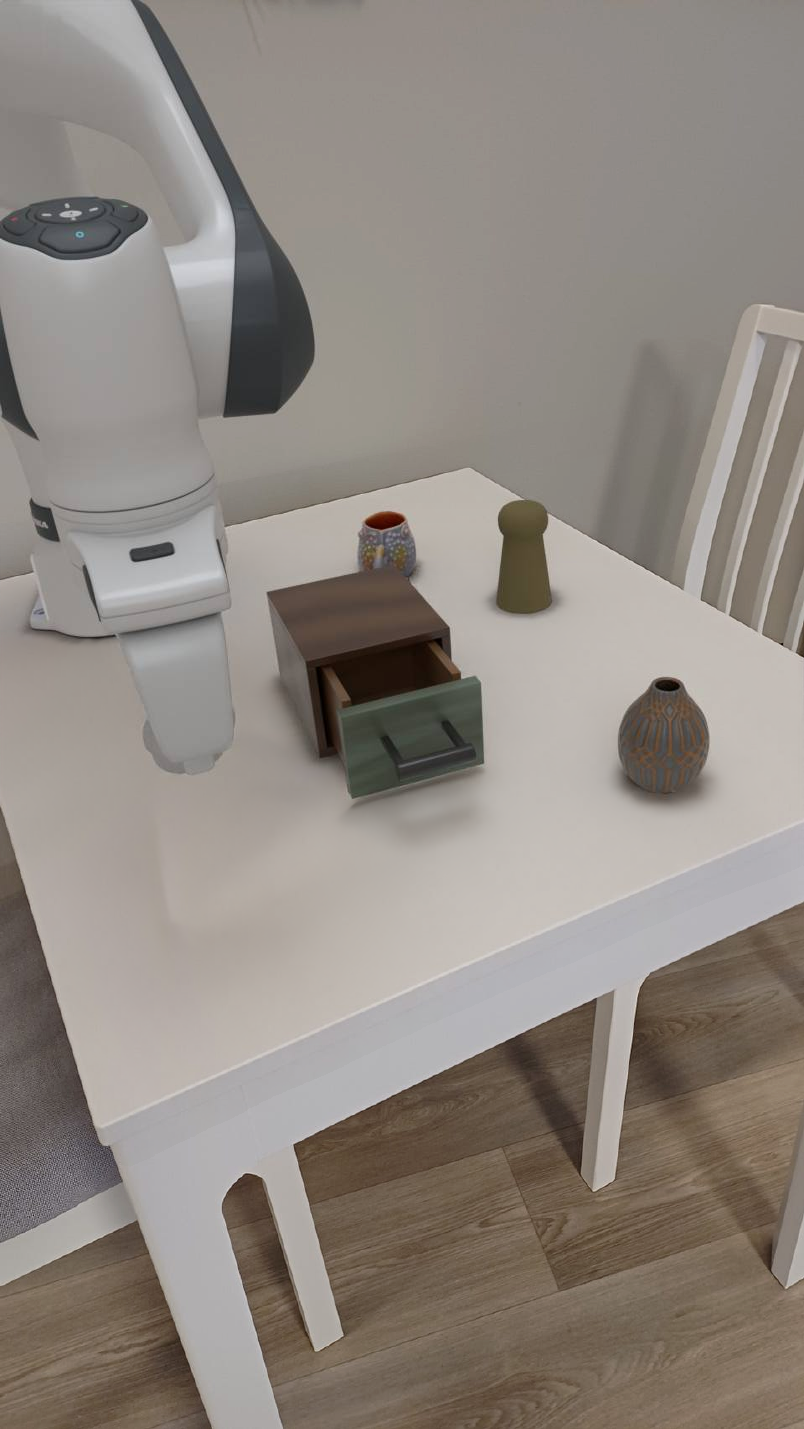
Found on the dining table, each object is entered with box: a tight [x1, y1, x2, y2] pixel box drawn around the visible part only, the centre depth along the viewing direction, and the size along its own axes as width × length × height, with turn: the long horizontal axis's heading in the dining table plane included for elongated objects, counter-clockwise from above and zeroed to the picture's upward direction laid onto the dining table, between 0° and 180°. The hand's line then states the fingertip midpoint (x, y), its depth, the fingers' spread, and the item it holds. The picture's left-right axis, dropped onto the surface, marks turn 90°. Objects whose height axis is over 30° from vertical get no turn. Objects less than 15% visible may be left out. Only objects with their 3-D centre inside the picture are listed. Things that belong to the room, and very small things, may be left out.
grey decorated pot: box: [356, 510, 417, 578], centre depth 113 cm, size 12×7×7 cm, turn 171°
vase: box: [617, 676, 711, 794], centre depth 77 cm, size 7×7×9 cm
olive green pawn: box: [495, 499, 553, 614], centre depth 105 cm, size 6×6×11 cm
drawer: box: [316, 639, 485, 800], centre depth 81 cm, size 19×11×8 cm, turn 19°
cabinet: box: [266, 565, 453, 759], centre depth 90 cm, size 15×13×10 cm
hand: (191, 738), depth 62 cm, fingers closed on garlic, 5 cm apart
